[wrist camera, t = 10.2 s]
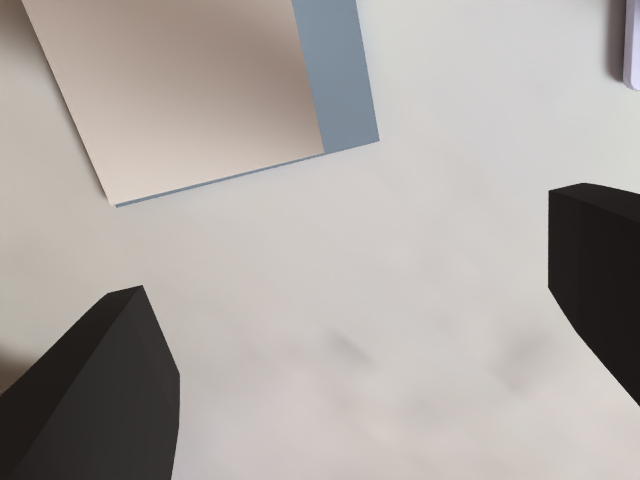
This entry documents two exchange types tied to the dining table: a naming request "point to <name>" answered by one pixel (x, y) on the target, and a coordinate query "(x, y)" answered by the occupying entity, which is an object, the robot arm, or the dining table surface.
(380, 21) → the dining table surface
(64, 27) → the plug
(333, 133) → the mat
